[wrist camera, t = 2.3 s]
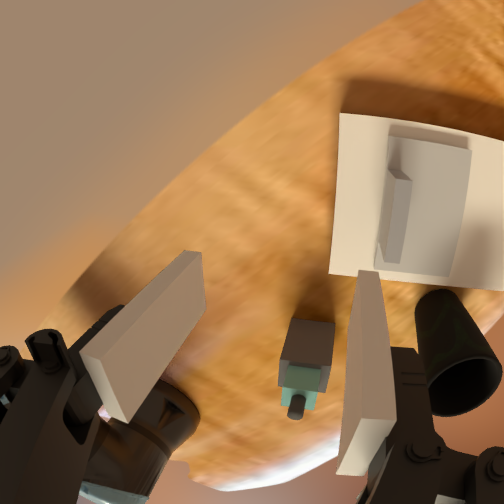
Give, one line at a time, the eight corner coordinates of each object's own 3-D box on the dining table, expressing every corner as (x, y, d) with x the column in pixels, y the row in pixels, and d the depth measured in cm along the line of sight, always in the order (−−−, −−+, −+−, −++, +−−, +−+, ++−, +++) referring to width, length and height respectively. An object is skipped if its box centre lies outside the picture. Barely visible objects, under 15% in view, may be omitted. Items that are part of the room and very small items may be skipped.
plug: (289, 344, 37) (266, 422, 27) (291, 318, 35) (267, 397, 25) (330, 349, 36) (319, 431, 25) (335, 323, 34) (326, 405, 24)
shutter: (373, 265, 27) (377, 293, 22) (387, 135, 22) (398, 139, 18) (446, 273, 25) (461, 301, 21) (468, 149, 20) (493, 157, 16)
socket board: (330, 257, 31) (328, 273, 28) (339, 113, 25) (339, 112, 22) (494, 275, 27) (506, 291, 24) (519, 146, 21) (537, 151, 18)
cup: (441, 266, 28) (478, 340, 18) (479, 305, 29) (515, 378, 18) (391, 315, 32) (403, 397, 21) (432, 347, 32) (449, 426, 22)
